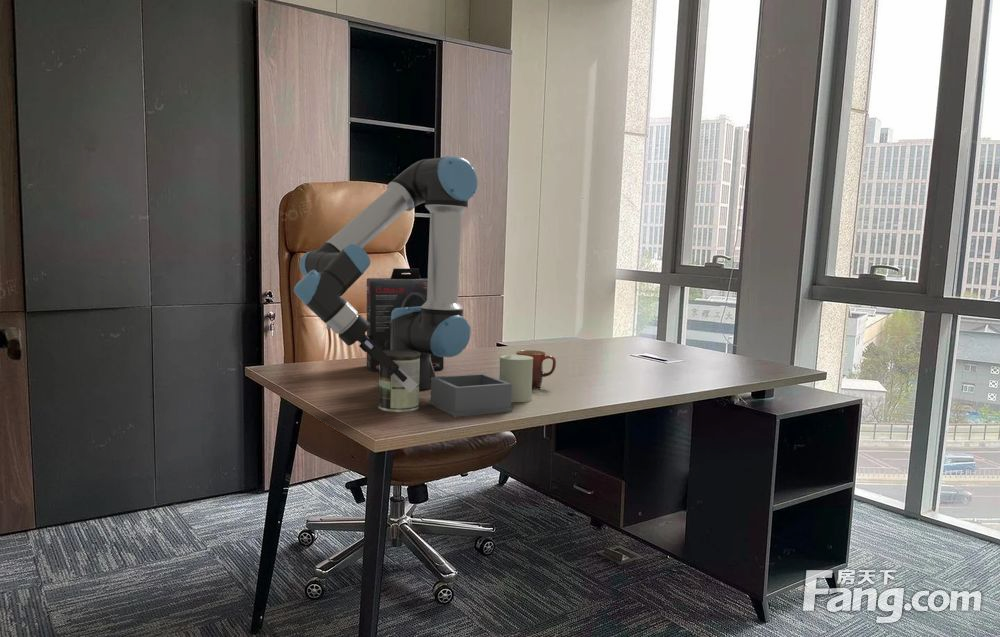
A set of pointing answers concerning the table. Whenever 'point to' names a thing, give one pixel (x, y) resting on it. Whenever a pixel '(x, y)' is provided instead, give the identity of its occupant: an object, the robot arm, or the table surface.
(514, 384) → the can
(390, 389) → the coffee can
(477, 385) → the box
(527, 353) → the mug
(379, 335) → the headset box
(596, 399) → the table surface
